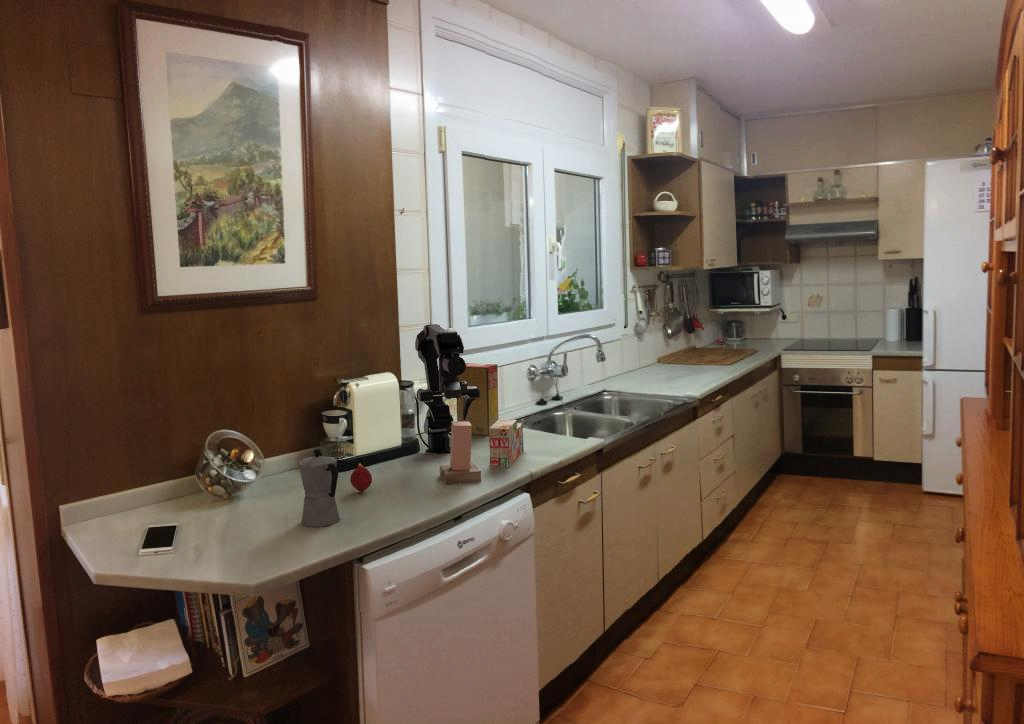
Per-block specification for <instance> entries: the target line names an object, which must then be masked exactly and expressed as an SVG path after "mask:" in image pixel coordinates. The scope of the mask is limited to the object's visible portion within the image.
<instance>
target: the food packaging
mask: <svg viewBox="0 0 1024 724" xmlns="http://www.w3.org/2000/svg"><path fill="white" fill-rule="evenodd" d="M465 363H466V369H465V371H464V372H463V373H462V374H461V375H458V381H459V382H463V381H466V382H467V387H470V386H475V387H477V388H478V389H479V390H480V397H478V398H476V400H474V401H472V403H471V405H470V407H469V409H468V413H467V416H466V419H465V420H463V396H461V398H458V399H457V398H456V422H464V421H469V422H470V424H471V425H472V434H471V436H472V435H473V436H485V437H487V436H488V437H489V428H490V427H491V426H492V425H493V424H495V422H496V421H497V420H500V419H499V377H498V375H499V374H498V369H499V368H498V367H499V366H498V364H497V363H474V362H473V363H471V362H465Z"/></svg>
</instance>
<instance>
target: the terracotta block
mask: <svg viewBox="0 0 1024 724" xmlns="http://www.w3.org/2000/svg"><path fill="white" fill-rule="evenodd" d="M450 433H451V434H450V447H451V449H450V459H449V461H450V463H449V465H450V466H451V468H452V470H470V463H471V459H472V458H471V457H472V455H471V454H472V425H471V424H470V422H469V421H464V422H457V421H453V422H452V426H451V432H450Z"/></svg>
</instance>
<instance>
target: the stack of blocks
mask: <svg viewBox="0 0 1024 724" xmlns="http://www.w3.org/2000/svg"><path fill="white" fill-rule="evenodd" d="M523 427H524V426H523V422H522V423H521V422H518V421H517V419H499V420H497V421H496V422H495V424H493V425H492V426H491V427H490V428H489V436H488V437H489V440H488V441H489V442H488V443H489V445H488V446H489V466H490V467H491V466H510V465H511V464H512V463H513V462H514V461H515V462H516V461H517V459H518V457H519V456H520V455H521V454H522V453H523V452H524V432H523V430H524V429H523ZM516 458H517V459H516ZM515 462H514V463H515ZM514 463H513V464H514ZM513 464H512V465H513ZM512 465H511V466H512ZM511 466H510V467H511Z"/></svg>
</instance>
